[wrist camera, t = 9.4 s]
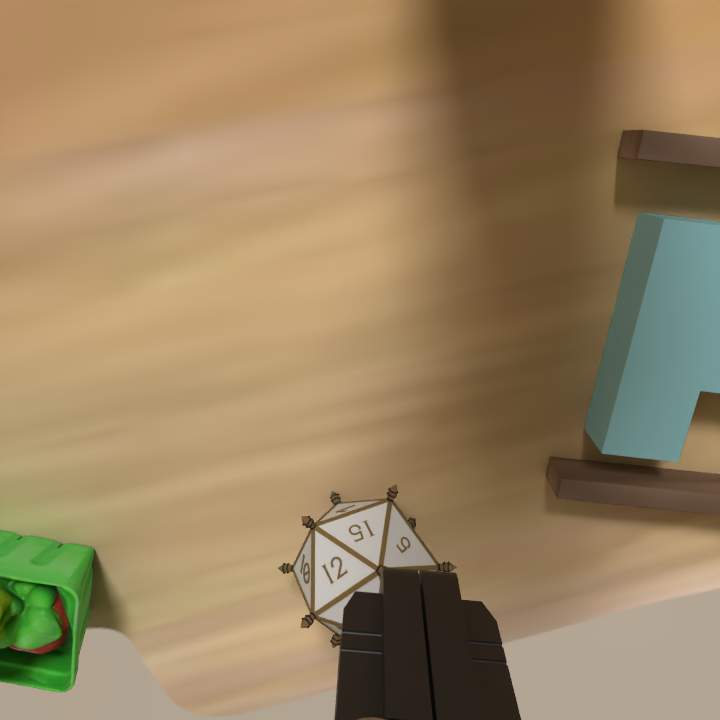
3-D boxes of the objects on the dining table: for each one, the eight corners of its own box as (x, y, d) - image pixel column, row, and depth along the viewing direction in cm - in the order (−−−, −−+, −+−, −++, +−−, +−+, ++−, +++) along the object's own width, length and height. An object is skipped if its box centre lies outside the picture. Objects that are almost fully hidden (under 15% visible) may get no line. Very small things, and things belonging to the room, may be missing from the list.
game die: (393, 504, 42) (464, 654, 36) (268, 548, 40) (321, 716, 34) (403, 425, 35) (493, 593, 29) (254, 473, 33) (317, 665, 27)
